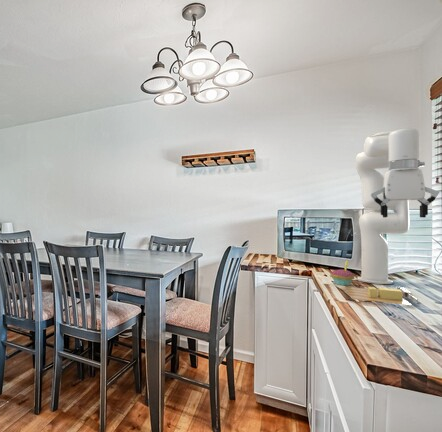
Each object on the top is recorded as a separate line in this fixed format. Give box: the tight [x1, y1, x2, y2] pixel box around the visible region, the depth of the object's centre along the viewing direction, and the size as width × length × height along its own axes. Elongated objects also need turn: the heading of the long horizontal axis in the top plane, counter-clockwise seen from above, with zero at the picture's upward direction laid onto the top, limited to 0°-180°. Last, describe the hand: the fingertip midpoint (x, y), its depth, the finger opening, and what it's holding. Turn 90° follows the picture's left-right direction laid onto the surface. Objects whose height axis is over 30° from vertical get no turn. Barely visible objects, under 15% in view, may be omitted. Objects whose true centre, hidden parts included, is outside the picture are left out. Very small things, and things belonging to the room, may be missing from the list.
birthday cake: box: [329, 258, 355, 286], centre depth 137 cm, size 9×8×12 cm
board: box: [343, 286, 412, 306], centre depth 118 cm, size 22×16×1 cm
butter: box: [377, 287, 404, 300], centre depth 113 cm, size 4×6×3 cm, turn 60°
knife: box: [396, 286, 419, 304], centre depth 115 cm, size 20×2×3 cm, turn 150°
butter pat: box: [367, 286, 378, 298], centre depth 116 cm, size 4×2×3 cm, turn 150°
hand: (403, 217), depth 107 cm, fingers open, 9 cm apart
